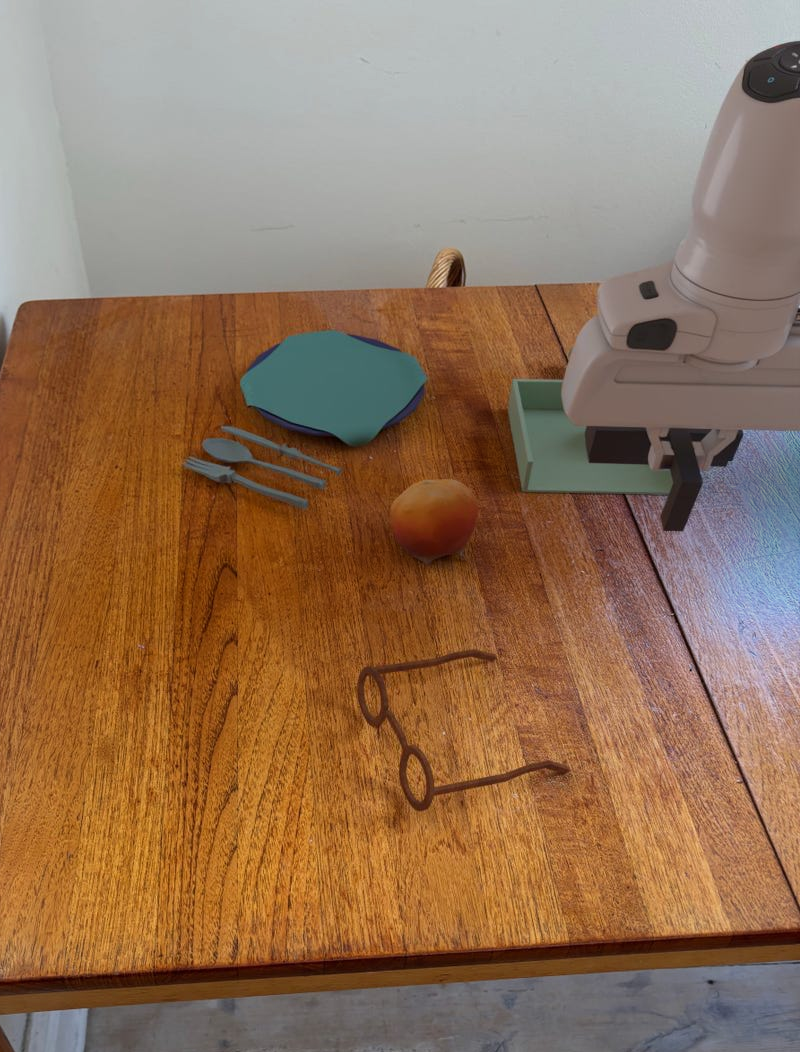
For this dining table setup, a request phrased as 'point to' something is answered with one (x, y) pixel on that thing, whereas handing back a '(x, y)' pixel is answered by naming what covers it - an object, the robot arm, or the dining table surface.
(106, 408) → the dining table surface
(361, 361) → the cutlery set
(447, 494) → the fruit
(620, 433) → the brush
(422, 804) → the glasses
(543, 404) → the dustpan
